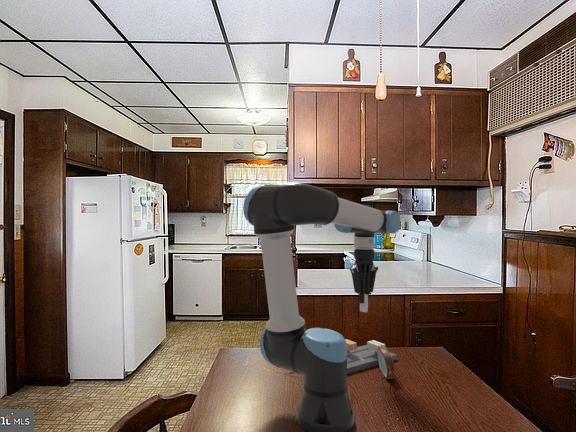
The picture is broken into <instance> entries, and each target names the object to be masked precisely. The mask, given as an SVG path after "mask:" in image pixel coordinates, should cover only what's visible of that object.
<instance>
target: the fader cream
mask: <svg viewBox="0 0 576 432" xmlns="http://www.w3.org/2000/svg"><path fill="white" fill-rule="evenodd" d="M366 345H367V348H369V349H371V350H374V351H375V355H377V352H378V347H386V344H385V343H382V342H380V341H377V340H374V339H372V340H368V341H366Z"/></svg>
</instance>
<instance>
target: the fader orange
mask: <svg viewBox="0 0 576 432" xmlns="http://www.w3.org/2000/svg"><path fill="white" fill-rule="evenodd" d="M345 341H346V346H347V353H350V351H352V350H356V349H357V347H358V343H357V342H356V341H352V340H351V339H347V338H345Z"/></svg>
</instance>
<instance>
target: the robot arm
mask: <svg viewBox="0 0 576 432" xmlns="http://www.w3.org/2000/svg"><path fill="white" fill-rule="evenodd" d="M242 209H243V216H244V218H245V220H246V221H247V222H248V224H250V225H251V226H253V232H254V233H253V234H254V235H255V236H256V237H257V238H258V239H259V240H260V247H261V255H262V262H263V272H264V281H265V290H266V297H267V305H268V306H267V307H268V312H269V313H268V314H269V316H268V317H269V319H268V321H266V323H265V328H263V331H262V332H261V335H262V336H260V339H259V350H260V353H261V355H262V357H263V359H264V360H265V361H266V362H267V363H269V364H270V365H272V366H274V367H276V368H280V369H283V370H287V371H289V372H292V373H294V374H296V375H297V374H298V375H301V376H303V392H302V396H301V398H300V403H299V406H298V408H297V423H298V426H300V427H301V428H302V429H303V430H305V431H306V432H348V431H350V430H351V429H352V428H353V426H354V425H355V414H354V410H353V406H352V403H351V400H350V397H349V394H348V374H347V357H348V353H347V346H346V341H345V339H346V338H345V337H344V336H343V335H342V334H341V333H340V332H337V331H336V330H332V329H329V328H322V327H311V328H309V329H306V320H305V318H303V316H300V314H299V306H298V305H299V304H298V296H297V286H296V278H295V277H296V276H295V269H294V259H293V258H294V257H293V249H292V241H291V235H292V234H293V232H294V231H295V229H296V228H295V226H302V225H322V226H327V225H330V224H333V225H334V228H335V229H336V231H338V232H339V233H344V234H350V233H351V234H354V235H353V236H354V239H353V247H354V249H353V250H354V251H353V258H354V259H355V261H354V266H353V267H351V266H350V267H349V271H350V273H351V279H352V283H353V284H352V285H353V290H354V293H356V294H358V303H359V312H361V313H369V312H368V311H369V308H368V307H369V301H370V295H372V293H373V292H374V288H375V281H376V275H377V272H378V270H379V267H378V266H375V265H374V264H375V263H374V260H375V249H374V248H375V234H387V235H388V234H397V232H399V231H400V228H401V215H400V214H399V213H398V211H396V210H381V209H378V208H374V207H371V206H368V205H364V204H362V203H361V204H360V203H357V202H355V201H352V200H348V199H344V198H341V197H338V196H337V194H336V193H334V192H333V191H331V190H328V189H325V188H322V187H319V186H315V185H311V184H308V183H303V182H297V181H291V182H285V183H283V182H282V183H273V184H268V183H267V184H263V185H258V186H256V187H253V188H252V189H251V190H250V191H248V194H247V195H246V196H245V198H244V201H243V206H242Z"/></svg>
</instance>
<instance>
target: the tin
mask: <svg viewBox="0 0 576 432" xmlns="http://www.w3.org/2000/svg"><path fill="white" fill-rule="evenodd" d="M389 352H390V351H389V350H388V348H387V346H385V347H378V362H379V365H378V366H379V369H380V371H381V374H382V375H383V377H384V378H385V380H394V379H395V365H394V361H393V359H392V356H391V354H390V353H389Z"/></svg>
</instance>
